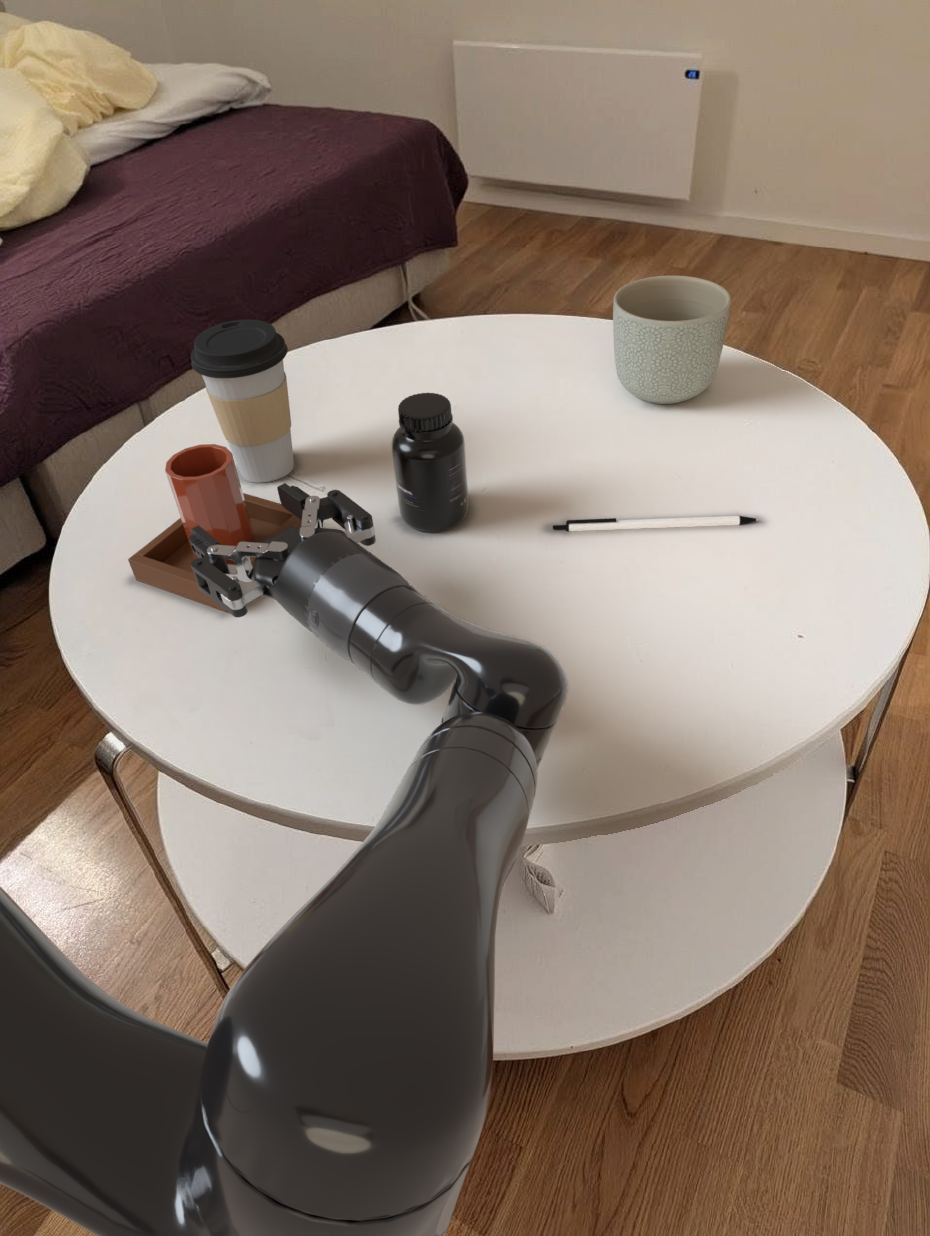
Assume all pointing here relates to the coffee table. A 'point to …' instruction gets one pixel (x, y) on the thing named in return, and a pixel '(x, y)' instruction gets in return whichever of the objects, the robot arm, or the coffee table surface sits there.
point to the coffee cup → (249, 394)
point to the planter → (669, 336)
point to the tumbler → (210, 494)
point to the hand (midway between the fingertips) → (240, 514)
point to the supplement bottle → (429, 464)
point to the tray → (172, 554)
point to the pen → (651, 523)
